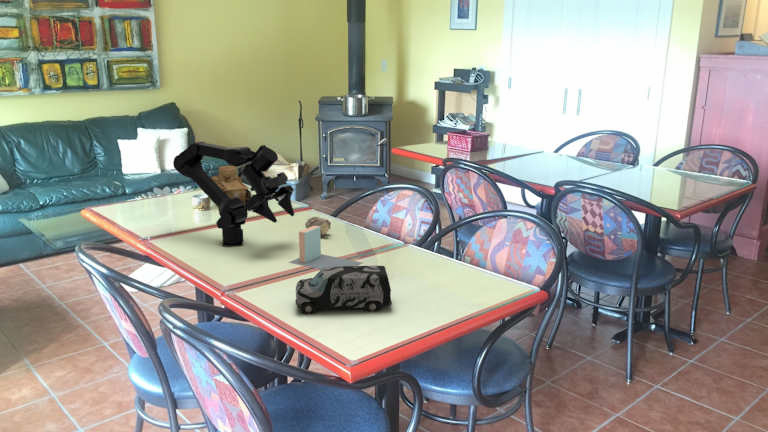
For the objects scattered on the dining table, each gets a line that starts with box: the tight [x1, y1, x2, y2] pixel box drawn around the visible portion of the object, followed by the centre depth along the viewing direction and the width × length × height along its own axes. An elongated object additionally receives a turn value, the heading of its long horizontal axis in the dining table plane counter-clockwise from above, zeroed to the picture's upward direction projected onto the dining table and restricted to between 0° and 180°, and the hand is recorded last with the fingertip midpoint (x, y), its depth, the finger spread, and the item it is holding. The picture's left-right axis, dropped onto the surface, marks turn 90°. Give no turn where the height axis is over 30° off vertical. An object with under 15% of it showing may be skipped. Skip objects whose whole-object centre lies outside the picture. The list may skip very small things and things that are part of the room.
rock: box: [304, 216, 332, 237], centre depth 228 cm, size 7×11×10 cm
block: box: [298, 226, 322, 263], centre depth 200 cm, size 2×8×10 cm, turn 149°
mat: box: [288, 253, 363, 271], centre depth 199 cm, size 20×12×1 cm, turn 59°
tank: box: [210, 165, 253, 204], centre depth 273 cm, size 13×27×15 cm, turn 25°
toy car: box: [295, 265, 393, 315], centre depth 166 cm, size 11×25×10 cm, turn 96°
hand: (284, 218), depth 204 cm, fingers open, 9 cm apart
